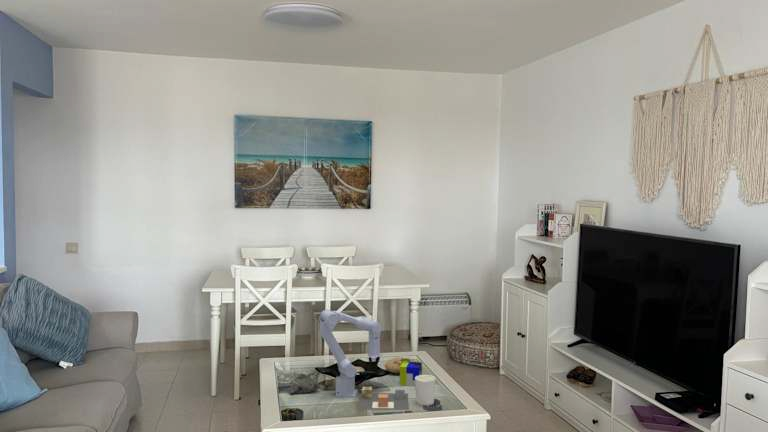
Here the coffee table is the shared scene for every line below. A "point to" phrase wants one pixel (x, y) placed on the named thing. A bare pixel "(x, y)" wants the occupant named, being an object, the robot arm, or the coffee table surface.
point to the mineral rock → (302, 384)
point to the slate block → (399, 392)
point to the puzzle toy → (410, 372)
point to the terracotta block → (382, 400)
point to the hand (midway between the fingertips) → (374, 371)
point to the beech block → (367, 393)
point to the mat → (392, 405)
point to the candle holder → (425, 389)
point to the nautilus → (395, 364)
